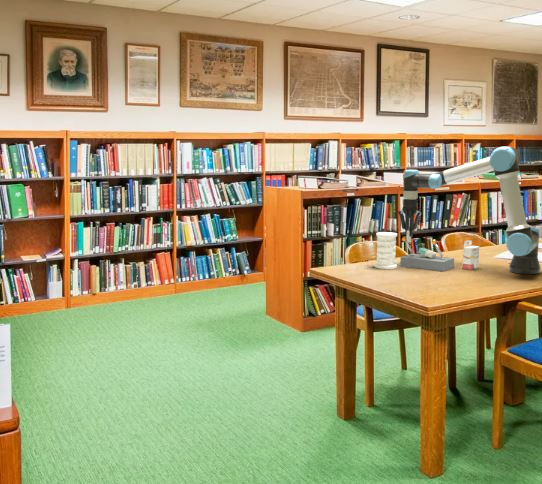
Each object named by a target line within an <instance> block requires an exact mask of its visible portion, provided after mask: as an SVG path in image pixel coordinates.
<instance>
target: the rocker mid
mask: <svg viewBox="0 0 542 484" xmlns="http://www.w3.org/2000/svg"><path fill="white" fill-rule="evenodd" d="M437 253H438V252H435V251H433V250H431V249H428V248H426V247H420V248H419V249H418V252H417V254H420V255H425V256H427V257H430V258H434V257H436V256H437Z"/></svg>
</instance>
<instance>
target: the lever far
mask: <svg viewBox="0 0 542 484" xmlns="http://www.w3.org/2000/svg"><path fill="white" fill-rule="evenodd" d="M401 240H402V242H404V243H405V245H406V246H407V249H408V250H409V252H410V254H414V252H413V249H412V248H411V246H410V244H409V243H406V242H407V236H402V238H401Z"/></svg>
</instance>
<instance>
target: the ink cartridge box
mask: <svg viewBox="0 0 542 484" xmlns="http://www.w3.org/2000/svg"><path fill="white" fill-rule="evenodd" d="M472 244H473V240H472V239H470V240H465V241H464V242H463V248H462V249H463V250H462V252H463V254H462V270H467V271H471V270H472V271H473V270H475V269H478V268H479V259H480V246H478V245H472Z"/></svg>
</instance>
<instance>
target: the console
mask: <svg viewBox="0 0 542 484" xmlns="http://www.w3.org/2000/svg"><path fill="white" fill-rule="evenodd" d="M454 264H455V258H454V257H447V256H446V257H445V256H442V257H441V256H438V255H436V257H434V258H430V257H427V256H425V255H422V254H420V253H412V254H411V253H409V254H406V255H403V256H400V263H399V266H400V267H404V268H411V269H419V270H420V269H421V270H428V271H436V272H446V271H448V270H451V269H453V268H454V266H455V265H454Z"/></svg>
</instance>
